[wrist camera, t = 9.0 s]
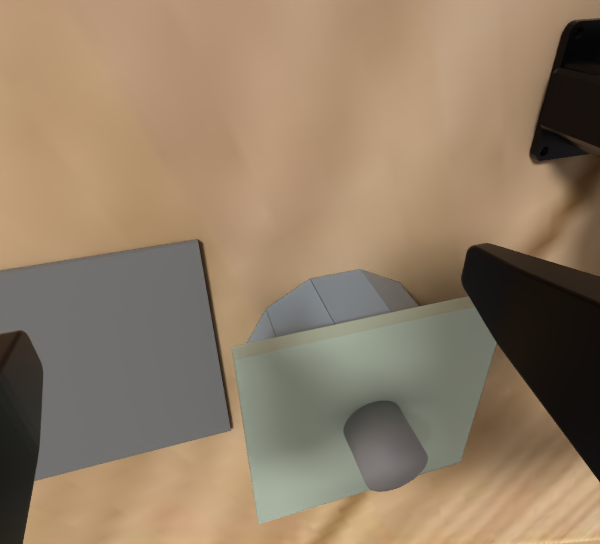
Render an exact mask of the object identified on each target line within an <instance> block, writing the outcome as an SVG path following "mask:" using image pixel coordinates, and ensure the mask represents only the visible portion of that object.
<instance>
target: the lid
mask: <svg viewBox="0 0 600 544" xmlns="http://www.w3.org/2000/svg"><path fill="white" fill-rule="evenodd" d="M496 344H497V342H496V341H495V340H494V338H493V336H492V335H491V333H490V332H489V330H488V328H487V326H486V325H485V323H484V321H483V320H482V318H481V316H480V315H479V313H478V311H477V310H476V308H475V306H474V304H473V303H472V301H471V299H470V298H469V296H466V297H461V298H456V299H452V300H447V301H443V302H438V303H433V304H429V305H424V306H419V307H415V308H410V309H405V310H401V311H396V312H391V313H387V314H382V315H377V316H373V317H368V318H364V319H359V320H354V321H350V322H345V323H340V324H336V325H331V326H326V327H322V328H317V329H312V330H308V331H303V332H299V333H294V334H289V335H285V336H280V337H275V338H271V339H266V340H261V341H257V342H252V343H247V344H243V345H238V346H234V347H232V353H233V359H234V366H235V373H236V380H237V387H238V393H239V400H240V407H241V414H242V421H243V427H244V434H245V441H246V448H247V455H248V461H249V468H250V475H251V482H252V489H253V495H254V502H255V509H256V514H257V519H258V524H261V523H265V522H268V521H271V520H274V519H278V518H281V517H284V516H287V515H291V514H294V513H297V512H300V511H304V510H307V509H310V508H313V507H317V506H320V505H323V504H326V503H330V502H333V501H336V500H339V499H343V498H346V497H349V496H352V495H356V494H359V493H362V492H365V491H369V490H373V491H379V492H381V491H389V490H393V489H396V488H399V487H401V486H403V485H405V484H407V483H409V482H410V481H412V480H413V479H414V478H416V477H417V476H418V475H421V474H424V473H427V472H430V471H434V470H437V469H440V468H443V467H447V466H450V465H453V464H456V463H460V462H461V459H462V456H463V452H464V449H465V446H466V443H467V439H468V436H469V433H470V429H471V426H472V423H473V420H474V416H475V413H476V410H477V406H478V403H479V400H480V396H481V393H482V390H483V387H484V383H485V380H486V377H487V373H488V370H489V367H490V364H491V360H492V357H493V354H494V350H495V347H496Z"/></svg>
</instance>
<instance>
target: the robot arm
mask: <svg viewBox="0 0 600 544" xmlns="http://www.w3.org/2000/svg"><path fill="white" fill-rule="evenodd" d="M576 29H577V32H576V34H575V36H574V32H575V30H576ZM542 148H543V150H542V151H541V149H542ZM540 151H541V152H540ZM584 154H593V155H595V156H598V157H600V18H598V19H582V20H574V21H571V22H570V23H569V24H568V25H567V26H566V27H565V29H564V32H563V34H562V38H561V42H560V45H559V49H558V53H557V56H556V60H555V64H554V67H553V71H552V75H551V78H550V82H549V86H548V89H547V93H546V97H545V100H544V104H543V108H542V111H541V115H540V119H539V122H538V126H537V130H536V133H535V137H534V141H533V144H532V148H531V156H532V157H533V158H535V159H537V160H539V161H543V160H550V159H557V158H564V157H571V156H577V155H584ZM461 280H462V285H463V287H464V289H465V291H466V293H467V294H468V296H469V298H470V299H471V301H472V303H473V304H474V306H475V308H476V310H477V311H478V313H479V315H480V316H481V318H482V320H483V321H484V323H485V325H486V326H487V328H488V330H489V332H490V333H491V335H492V336H493V338H494V340H495V341H496V342H497V344H498V345H499V347H500V348H501V350H502V351H503V352H504V354H505V355H506V356H507V358H508V359H509V360H510V362H511V363H512V364H513V366H514V367H515V368H516V370H517V371H518V372H519V374H520V375H521V377H522V378H523V379H524V381H525V382H526V383H527V385H528V386H529V387H530V389H531V390H532V391H533V393H534V394H535V395H536V397H537V398H538V399H539V401H540V402H541V403H542V405H543V406H544V408H545V409H546V410H547V412H548V413H549V414H550V416H551V417H552V418H553V420H554V421H555V422H556V424H557V425H558V426H559V428H560V429H561V430H562V432H563V433H564V435H565V436H566V437H567V439H568V440H569V441H570V443H571V444H572V445H573V447H574V448H575V449H576V451H577V452H578V453H579V455H580V456H581V457H582V459H583V460H584V462H585V463H586V464H587V466H588V467H589V468H590V470H591V471H592V472H593V474H594V475H595V476H596V478H597V479H598V480H599V482H600V277H599V276H595V275H592V274H589V273H586V272H582V271H579V270H576V269H572V268H569V267H566V266H562V265H559V264H556V263H553V262H549V261H546V260H543V259H539V258H536V257H533V256H529V255H526V254H523V253H520V252H516V251H513V250H510V249H506V248H503V247H500V246H496V245H493V244H490V243H483V244H478V245H473V246H471V247H469V249H468V250H467V253H466V258H465V262H464V267H463V271H462V276H461ZM42 394H43V367H42V363H41V361H40V359H39V357H38V354H37V352H36V350H35V348H34V346H33V344H32V342H31V340H30V338H29V336H28V334H27V333H26V332H25V331H22V330H17V331H12V332H6V333H1V334H0V544H23V539H24V534H25V528H26V523H27V518H28V512H29V507H30V501H31V496H32V490H33V485H34V479H35V474H36V468H37V462H38V456H39V448H40V434H41V414H42Z"/></svg>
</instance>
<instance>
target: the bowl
mask: <svg viewBox="0 0 600 544" xmlns="http://www.w3.org/2000/svg"><path fill="white" fill-rule="evenodd" d="M415 307H419V306H418V304H417V303H416V302H415V301H414V300H413V298H412V297H411V296H410V295H409V294H408V292H407V291H406V290H405V289H404V288H403V286H402V285H401V284H400V283H399V282H397V281H394V280H391V279H388V278H385V277H382V276H379V275H376V274H373V273H370V272H367V271H364V270H360V269H359V270H354V271H349V272H343V273H338V274H333V275H327V276H322V277H317V278H312V279H309V280H307V281H306V282H305V283H303V284H302V285H300V286H299V287H297V288H296V289H294V290H293V291H291V292H290V293H289V294H287V295H286V296H284V297H283V298H281V299H280V300H278V301H277V302H275V303H274V304H273V305H271V306H270V307H268V308H267V309H266V310H265V312H264V313H263V315H262V317H261V319H260V321H259V322H258V324H257V326H256V328H255V329H254V331H253V333H252V335H251V337H250V338H249V340H248V342H247V343H252V342H257V341H261V340H266V339H271V338H275V337H280V336H285V335H289V334H294V333H299V332H303V331H308V330H312V329H317V328H322V327H326V326H331V325H336V324H340V323H345V322H350V321H354V320H359V319H364V318H368V317H373V316H377V315H382V314H387V313H391V312H396V311H401V310H405V309H410V308H415Z"/></svg>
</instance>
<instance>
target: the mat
mask: <svg viewBox="0 0 600 544" xmlns="http://www.w3.org/2000/svg"><path fill="white" fill-rule="evenodd" d="M17 330H22V331H25V332H26V333H27V334H28V336H29V338H30V340H31V342H32V344H33V346H34V348H35V350H36V352H37V354H38V357H39V359H40V361H41V363H42V367H43V394H42V414H41V434H40V448H39V456H38V462H37V468H36V474H35V479H34V481H36V480H40V479H44V478H48V477H52V476H56V475H59V474H63V473H67V472H71V471H75V470H79V469H83V468H87V467H91V466H95V465H98V464H102V463H106V462H110V461H114V460H118V459H122V458H126V457H130V456H134V455H137V454H141V453H145V452H149V451H153V450H157V449H161V448H165V447H169V446H172V445H176V444H180V443H184V442H188V441H192V440H196V439H200V438H204V437H208V436H211V435H215V434H219V433H223V432H227V431H231V429H230V423H229V417H228V411H227V405H226V400H225V394H224V388H223V382H222V377H221V371H220V365H219V359H218V354H217V348H216V342H215V336H214V330H213V325H212V319H211V313H210V307H209V302H208V296H207V290H206V284H205V278H204V273H203V267H202V261H201V255H200V250H199V244H198V239H196V240H190V241H184V242H177V243H171V244H165V245H159V246H152V247H146V248H140V249H133V250H127V251H121V252H115V253H108V254H102V255H96V256H90V257H83V258H77V259H71V260H64V261H58V262H52V263H46V264H39V265H33V266H27V267H20V268H14V269H8V270H2V271H0V334H1V333H6V332H12V331H17Z"/></svg>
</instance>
